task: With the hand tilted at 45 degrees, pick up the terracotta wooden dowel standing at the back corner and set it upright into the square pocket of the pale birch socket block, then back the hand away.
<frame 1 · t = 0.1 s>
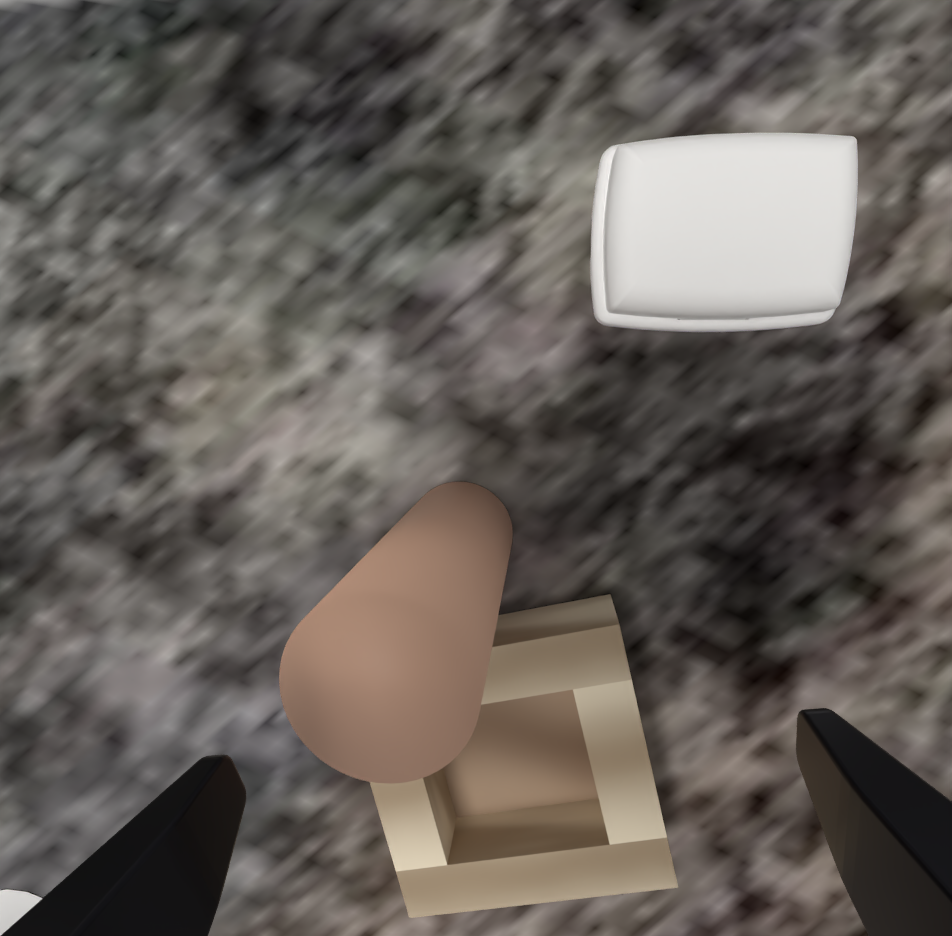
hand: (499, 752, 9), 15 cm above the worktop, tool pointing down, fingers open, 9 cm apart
socket block: (511, 734, 26), on the worktop
dowel: (460, 533, 25), on the worktop
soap: (709, 241, 22), on the worktop
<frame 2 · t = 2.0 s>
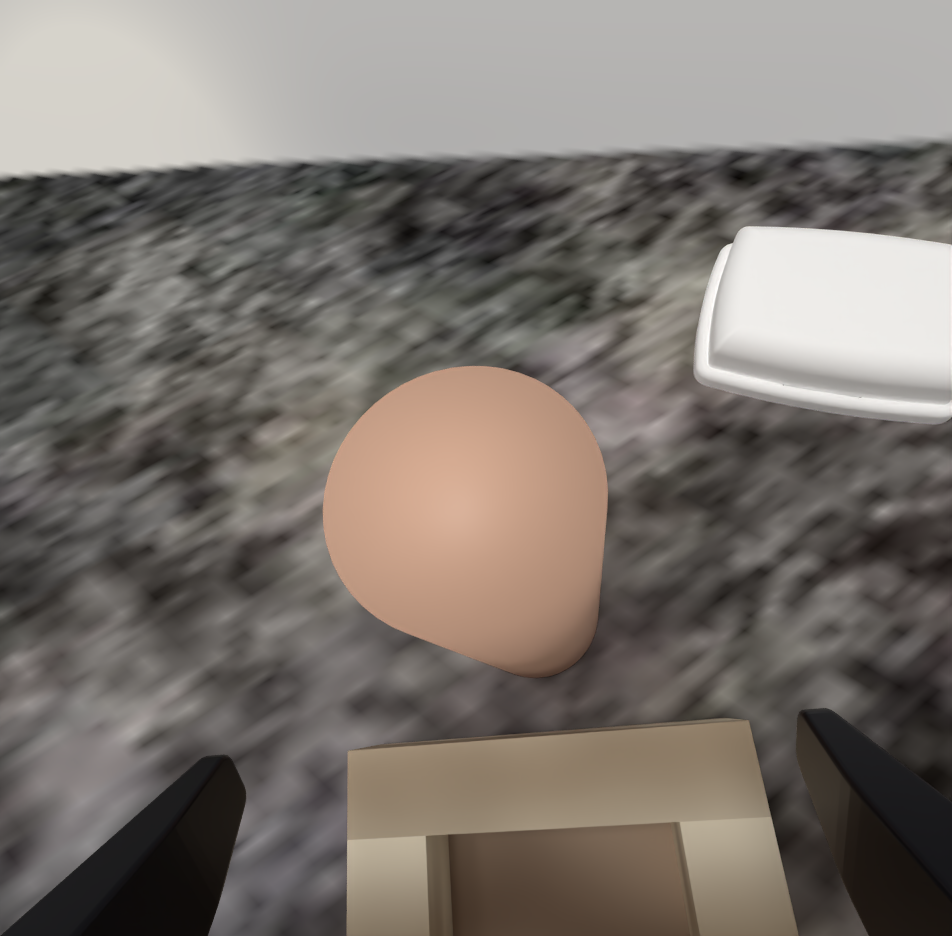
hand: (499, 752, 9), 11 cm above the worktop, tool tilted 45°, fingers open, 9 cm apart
dowel: (533, 610, 20), on the worktop
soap: (819, 338, 23), on the worktop
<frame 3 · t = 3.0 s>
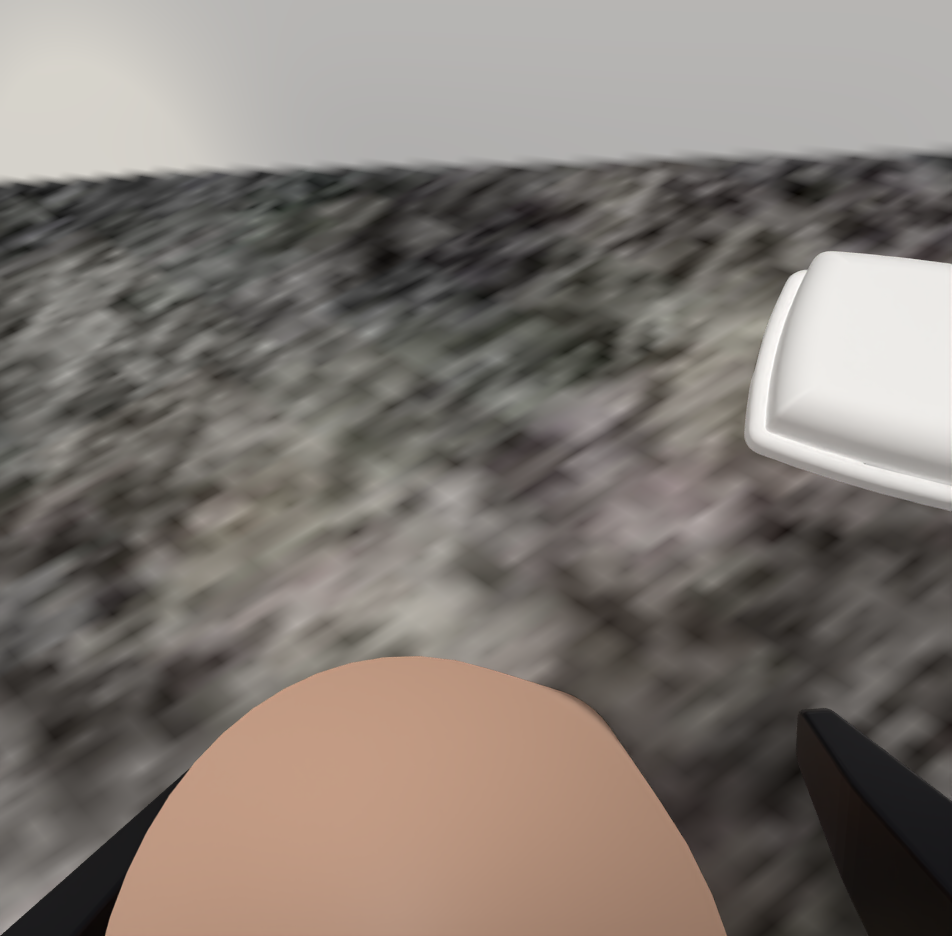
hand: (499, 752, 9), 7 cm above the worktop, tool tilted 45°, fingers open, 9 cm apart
dowel: (541, 778, 15), on the worktop
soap: (910, 401, 18), on the worktop
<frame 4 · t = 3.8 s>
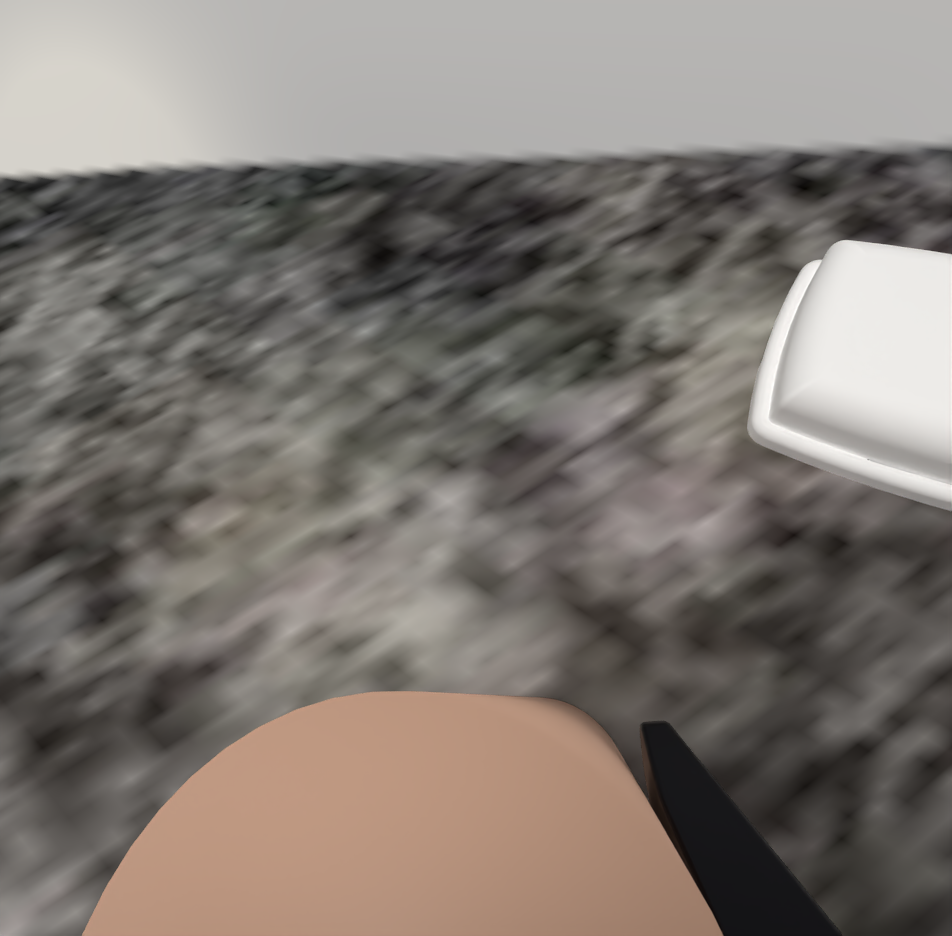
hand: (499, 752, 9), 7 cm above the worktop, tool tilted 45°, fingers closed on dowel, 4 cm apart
dowel: (541, 791, 15), on the worktop, touching gripper
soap: (921, 398, 17), on the worktop
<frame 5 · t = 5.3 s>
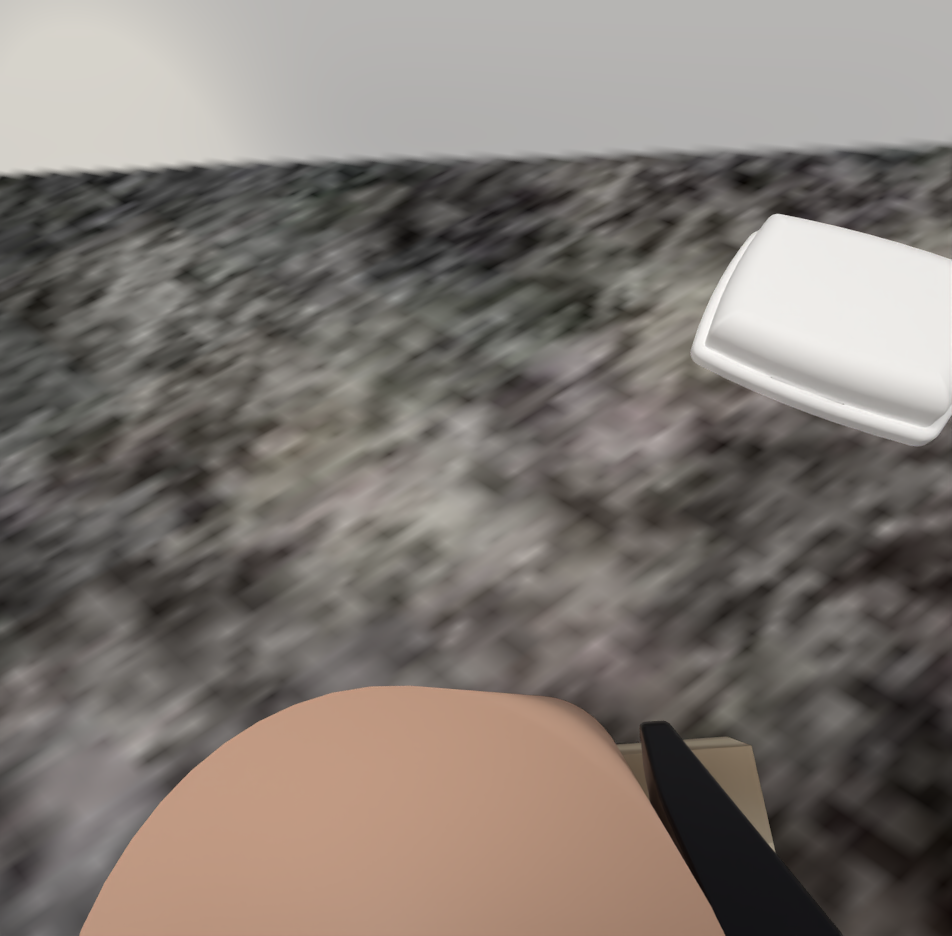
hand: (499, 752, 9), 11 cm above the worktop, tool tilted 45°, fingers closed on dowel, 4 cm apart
dowel: (540, 790, 15), point 4 cm above the worktop, touching gripper
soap: (825, 341, 23), on the worktop
when the fingers open (8 cm above the worktop, at t = 6.9 s): dowel drops 1 cm, resting on socket block.
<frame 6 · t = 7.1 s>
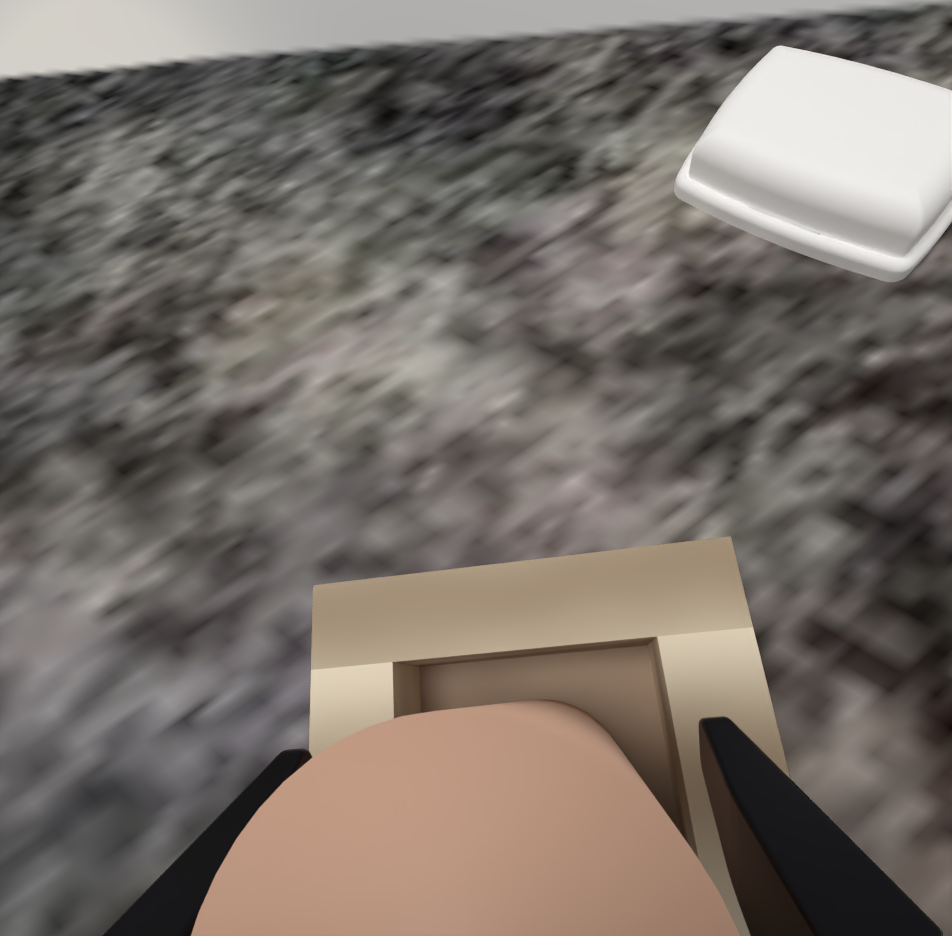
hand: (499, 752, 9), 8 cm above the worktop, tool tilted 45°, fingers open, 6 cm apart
socket block: (545, 783, 16), on the worktop
dowel: (546, 788, 16), resting on socket block
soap: (814, 188, 22), on the worktop
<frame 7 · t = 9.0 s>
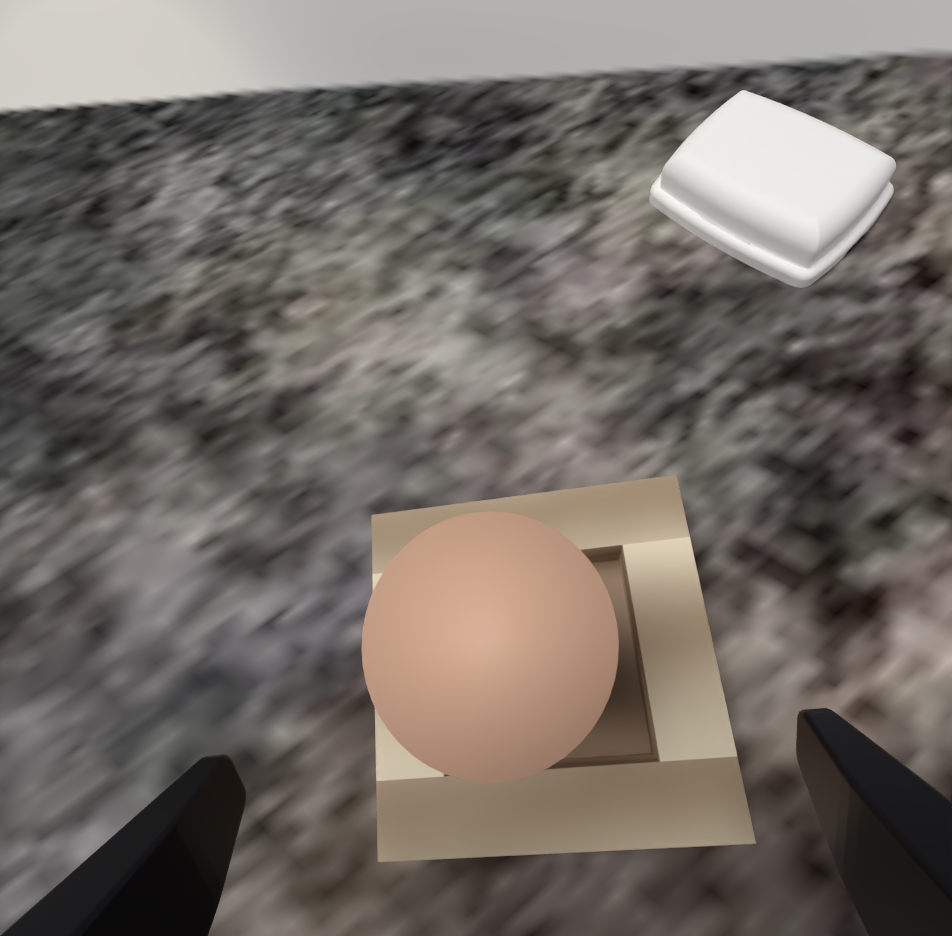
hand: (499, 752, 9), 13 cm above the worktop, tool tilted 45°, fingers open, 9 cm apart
socket block: (543, 660, 22), on the worktop
dowel: (543, 661, 22), resting on socket block
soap: (760, 207, 28), on the worktop
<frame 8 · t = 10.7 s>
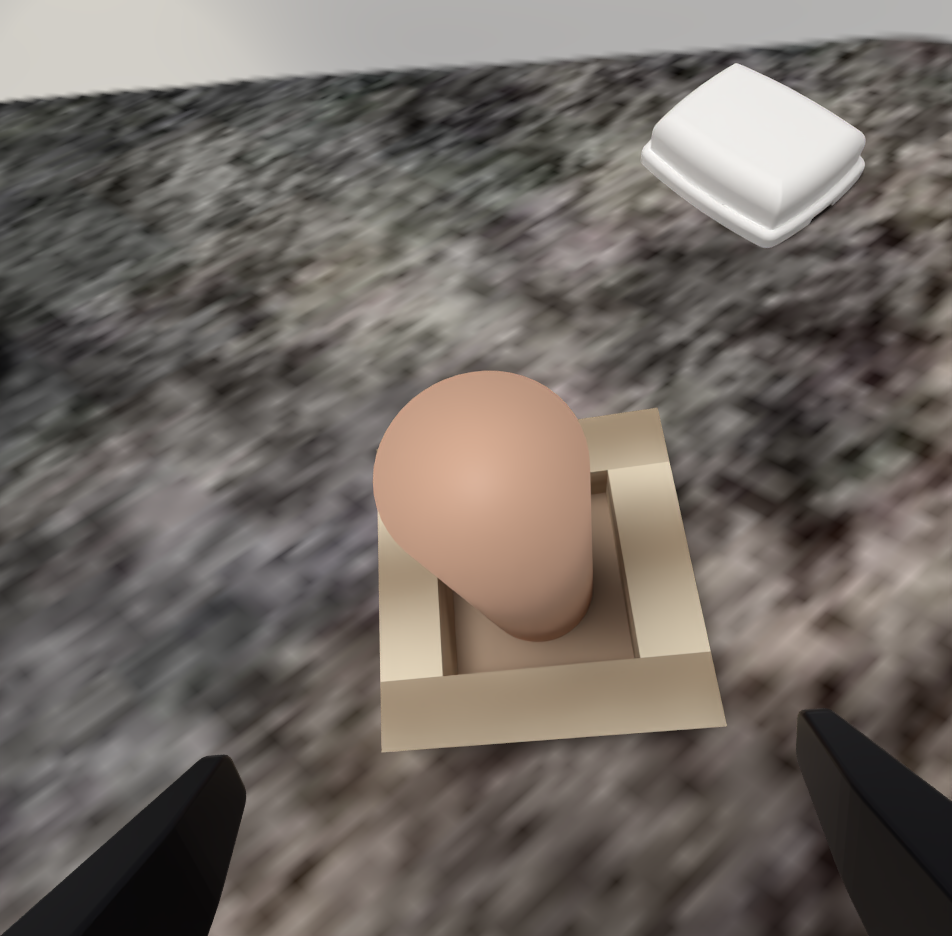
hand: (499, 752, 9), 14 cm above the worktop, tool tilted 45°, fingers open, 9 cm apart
socket block: (535, 584, 24), on the worktop
dowel: (536, 583, 23), resting on socket block
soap: (743, 175, 30), on the worktop
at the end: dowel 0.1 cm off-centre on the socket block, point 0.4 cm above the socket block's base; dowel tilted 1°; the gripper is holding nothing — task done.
